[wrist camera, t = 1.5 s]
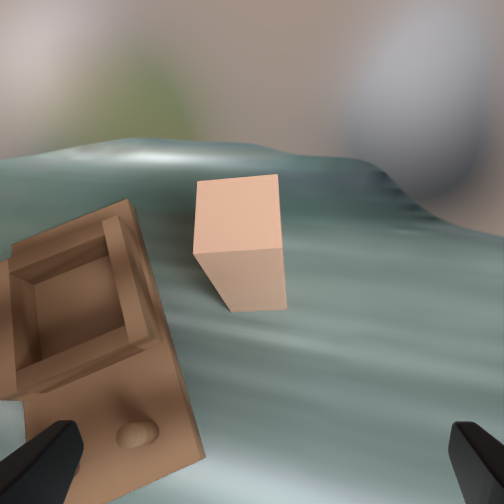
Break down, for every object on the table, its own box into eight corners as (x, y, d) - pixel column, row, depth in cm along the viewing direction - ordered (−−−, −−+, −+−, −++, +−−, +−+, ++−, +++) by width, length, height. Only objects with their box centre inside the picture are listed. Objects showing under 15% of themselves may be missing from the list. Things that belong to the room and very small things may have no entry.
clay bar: (287, 309, 24) (282, 247, 15) (231, 312, 24) (192, 254, 15) (283, 257, 25) (277, 174, 16) (231, 261, 26) (197, 181, 17)
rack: (205, 457, 20) (185, 468, 17) (47, 529, 20) (-11, 557, 16) (133, 206, 29) (109, 176, 25) (22, 251, 28) (-20, 226, 25)
